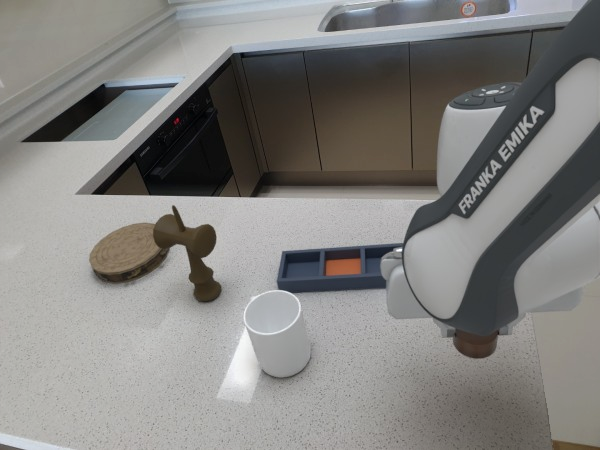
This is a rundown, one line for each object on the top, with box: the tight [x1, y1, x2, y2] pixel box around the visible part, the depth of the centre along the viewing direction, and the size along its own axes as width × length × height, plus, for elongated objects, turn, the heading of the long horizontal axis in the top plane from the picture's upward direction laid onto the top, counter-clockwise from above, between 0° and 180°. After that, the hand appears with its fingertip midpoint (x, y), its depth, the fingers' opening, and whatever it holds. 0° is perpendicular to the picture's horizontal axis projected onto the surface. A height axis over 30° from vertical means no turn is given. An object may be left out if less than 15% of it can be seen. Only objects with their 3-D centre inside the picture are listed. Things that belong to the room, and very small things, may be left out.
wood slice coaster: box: [88, 222, 170, 284], centre depth 97 cm, size 16×16×3 cm
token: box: [452, 328, 499, 360], centre depth 55 cm, size 5×5×2 cm
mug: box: [242, 289, 312, 378], centre depth 69 cm, size 12×8×10 cm
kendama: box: [153, 204, 222, 302], centre depth 79 cm, size 6×10×20 cm, turn 61°
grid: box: [276, 242, 403, 294], centre depth 82 cm, size 8×23×3 cm, turn 85°
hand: (475, 332), depth 55 cm, fingers closed on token, 5 cm apart
